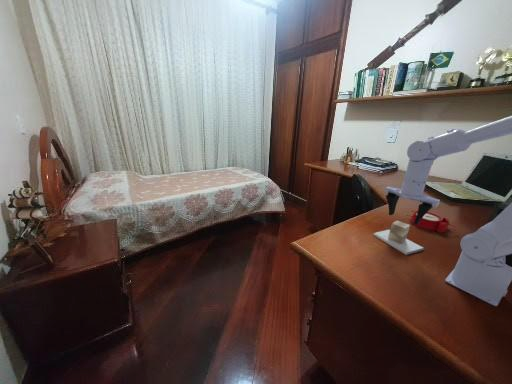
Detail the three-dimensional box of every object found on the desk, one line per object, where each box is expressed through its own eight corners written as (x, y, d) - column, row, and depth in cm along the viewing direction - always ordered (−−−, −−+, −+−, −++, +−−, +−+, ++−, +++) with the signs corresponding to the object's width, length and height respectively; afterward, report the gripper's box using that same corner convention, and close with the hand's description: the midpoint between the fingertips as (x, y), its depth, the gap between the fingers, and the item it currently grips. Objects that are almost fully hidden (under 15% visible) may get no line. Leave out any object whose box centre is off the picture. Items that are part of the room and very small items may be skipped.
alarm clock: (412, 208, 92) (459, 212, 81) (411, 221, 93) (458, 227, 82) (405, 214, 85) (455, 220, 74) (405, 228, 86) (454, 236, 75)
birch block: (405, 240, 72) (410, 225, 70) (400, 244, 69) (405, 228, 67) (393, 235, 75) (397, 220, 73) (387, 238, 72) (392, 223, 70)
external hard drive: (405, 256, 66) (372, 236, 77) (422, 251, 68) (388, 232, 79) (407, 252, 65) (373, 232, 76) (424, 247, 68) (389, 229, 79)
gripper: (384, 176, 68) (375, 213, 73) (439, 188, 57) (424, 231, 62) (394, 173, 72) (385, 209, 77) (447, 184, 61) (432, 225, 66)
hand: (403, 218), depth 69 cm, fingers open, 7 cm apart
